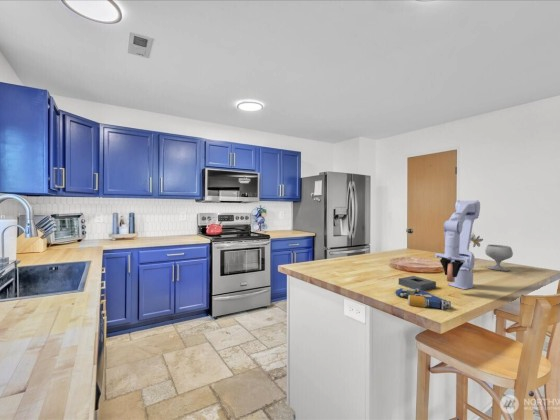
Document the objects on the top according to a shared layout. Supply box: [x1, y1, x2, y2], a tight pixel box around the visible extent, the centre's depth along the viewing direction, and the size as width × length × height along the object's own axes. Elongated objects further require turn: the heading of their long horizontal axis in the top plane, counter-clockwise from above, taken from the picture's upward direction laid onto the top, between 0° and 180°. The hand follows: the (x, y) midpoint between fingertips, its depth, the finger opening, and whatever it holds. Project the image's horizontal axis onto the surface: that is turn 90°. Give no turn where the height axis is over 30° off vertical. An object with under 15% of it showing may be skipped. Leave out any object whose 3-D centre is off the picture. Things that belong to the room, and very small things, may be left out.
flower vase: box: [470, 232, 484, 248], centre depth 172 cm, size 13×18×25 cm
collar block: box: [398, 275, 437, 291], centre depth 138 cm, size 12×12×3 cm
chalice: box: [484, 244, 514, 272], centre depth 179 cm, size 14×14×15 cm
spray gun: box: [394, 287, 452, 311], centre depth 116 cm, size 21×4×15 cm
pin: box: [446, 263, 455, 283], centre depth 127 cm, size 3×3×8 cm
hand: (450, 275), depth 127 cm, fingers closed on pin, 3 cm apart
